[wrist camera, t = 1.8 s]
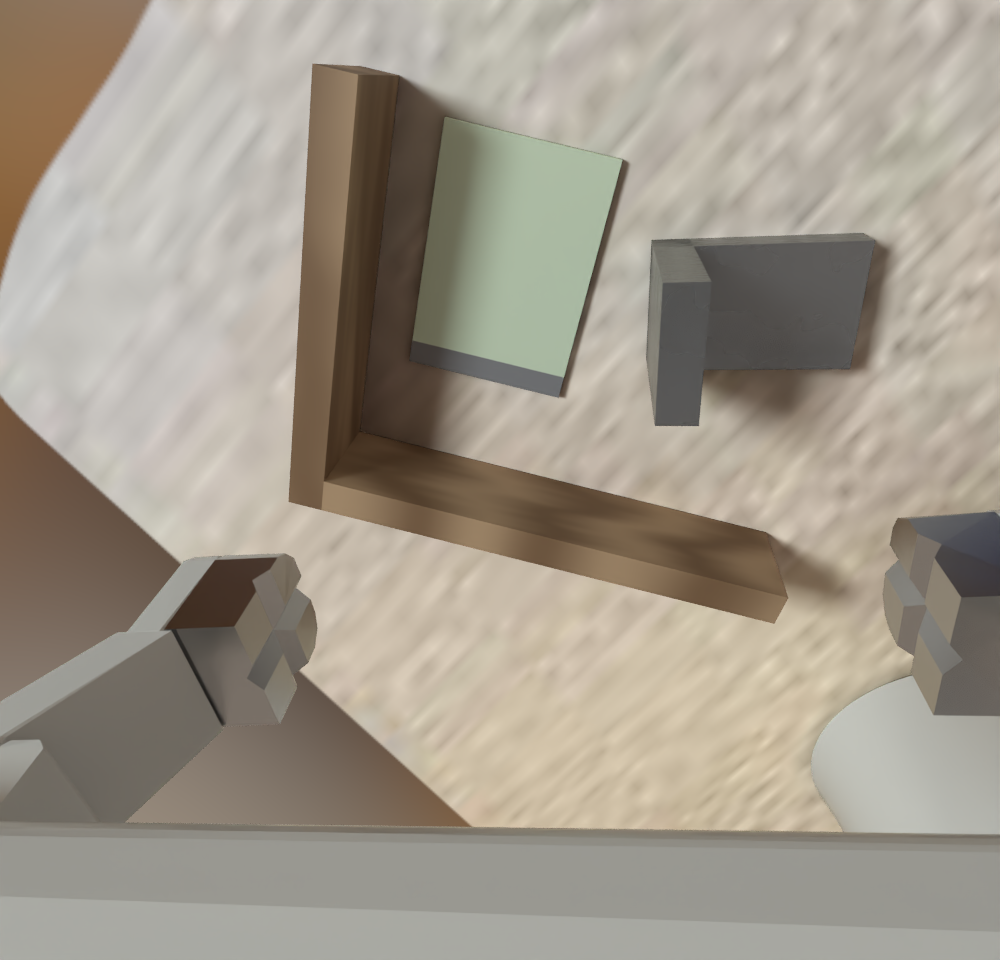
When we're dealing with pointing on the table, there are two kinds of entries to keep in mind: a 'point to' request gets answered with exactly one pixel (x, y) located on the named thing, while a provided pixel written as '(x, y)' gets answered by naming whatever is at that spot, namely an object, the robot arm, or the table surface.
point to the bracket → (749, 310)
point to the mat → (509, 254)
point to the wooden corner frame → (441, 476)
